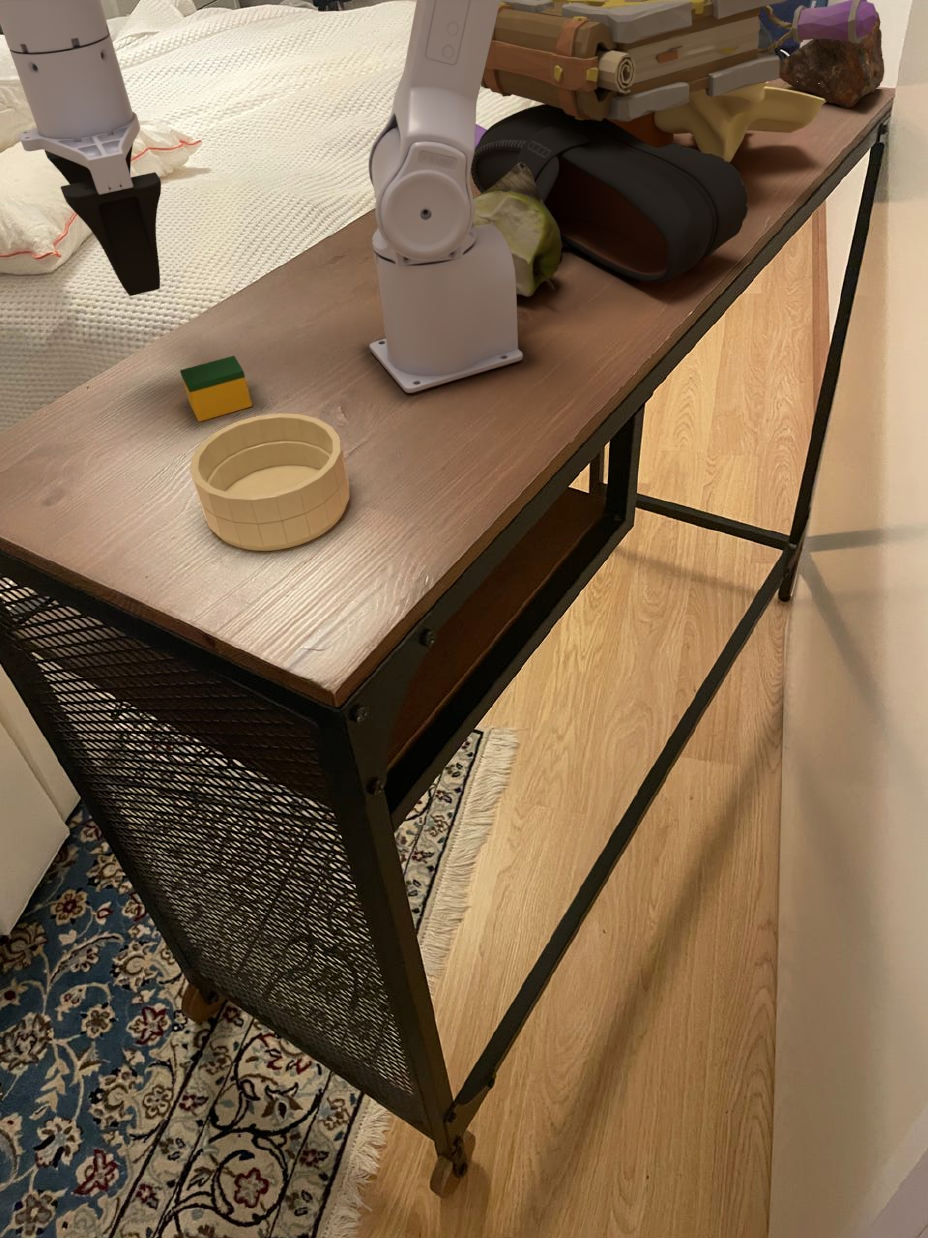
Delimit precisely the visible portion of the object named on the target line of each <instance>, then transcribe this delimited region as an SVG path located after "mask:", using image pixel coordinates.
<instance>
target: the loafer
mask: <svg viewBox="0 0 928 1238" xmlns="http://www.w3.org/2000/svg"><path fill="white" fill-rule="evenodd" d="M521 162H523V163H524V164H525V165H526V166H527V168H528V169H529V170H530V172H531V174H532V176H533V178H534V181H535V184H536V186H537V189H538V192H539V195H540V198H541V200H542V201H543V203H544V204H545V206H546V207H547V209H548V210H549V212H550V213H551V215H552V216H553V218H554V219H555V221H556V223H557V225H558V227H559V230H560V236H561V250H563V248H567V249H576V250H578V251H579V252H581V253H583V254H584V255H586V256H589V258H591V259H593V260H594V261H595V262H598V263H599V264H600V265H603V266H605V267H607V268H608V269H610V270H612V271H614V272H617V273H619V274H621V275H623V276H625V277H629V278H630V279H634V280H636V281H639V282H642V283H648V284H658V283H659V284H660V283H664V282H669V281H671V280H673V279H674V278H676V277H677V276H680V275H682V274H684V273H686V272H687V271H689V270H691V269H692V268H693V267H694V266H695V265H696V264H697V263H700V262H702V261H703V260H705V259H706V258H707V257H709V256H710V255H711V254H713V253H714V252H716V250H718V249H720V247H722V246H723V245H725V244H726V243H727V242H729V241H730V240H731V239H732V238H734V237H736V236H737V235H738V234H739V233H740V232H741V230H742V228H743V222H744V221H745V219H746V217H747V215H748V210H749V207H748V206H747V205H748V203H749V195H748V191H747V187H746V185H745V184H743V181H742V178H741V173H740V171H738V170H737V169H736V167H734V165H733V164H732V163H730V162H727V161H724V159H723V158H721V157H718V156H716V155H713V154H706V153H702V152H701V151H700V149H699V150H698V149H695V148H693V147H690V146H688V147H687V146H684V145H681V144H676V143H673V144H670V145H667V146H664V147H660V148H655V147H653V146H650V145H649V144H647V143H645V142H643V141H642V140H640V139H638V138H637V137H635V136H634V135H632V134H631V133H629V132H627V131H626V130H624V129H623V128H621V127H619V126H618V125H616V124H614V123H613V122H611V121H609V120H608V119H606V118H604V119H603V120H601V121H596V120H591V119H589V120H587V119H584V120H578V119H575V116H571V115H568V114H566V113H565V111H564V110H563V109H561V108H557V107H554V106H551V105H547V104H544V103H543V104H539V105H533V106H530V107H528V108H525V109H522V110H519V111H517V112H515V113H512V114H510V115H508V116H505V117H504V118H502V119H500V120H498V121H497V122H495V123H493V124H492V125H491V126H489V127H488V128H487V131H486V132H485V133H484V134H483V136H482V137H481V139H480V141H479V143H478V144H477V146H476V148H475V152H474V156H473V160H472V165H471V171H470V176H471V179H472V181H473V184H474V185H475V187H476V189H477V190H478V191H479V192H480V194H481V193H483V192H484V191H486V190H488V189H489V188H491V187H492V186H493V185H494V184H495V183H497V182H498V181H499V180H500V179H502V178H503V177H504V176H505V175H506V174H507V173H508V172H509V171H511V170H512V169H513V168H514V167H515V166H516V165H518V164H519V163H521Z"/></svg>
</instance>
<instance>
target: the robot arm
mask: <svg viewBox="0 0 928 1238" xmlns="http://www.w3.org/2000/svg"><path fill="white" fill-rule="evenodd" d="M499 5H500V0H416V1H415V9H414V14H413V19H412V24H411V30H410V34H409V41H408V46H407V51H406V57H405V62H404V68H403V72H402V75H401V78H400V81H399V82H398V85H397V87H396V91H395V93H394V97H393V103H392V108H391V112H390V115H389V118H388V120H387V122H386V124H385V126H384V127H383V128H382V130H381V131H380V132H379V134H378V135H377V136H376V138H375V140H374V142H373V143H372V145H371V149H370V152H369V157H368V174H369V179H370V182H371V185H372V187H373V192H374V199H375V204H374V205H375V207H374V209H375V211H374V212H375V220H376V224H377V228H376V230H375V232H373V235H372V236H371V243H372V248H373V249H372V250H373V256H374V263H375V271H376V278H377V286H378V295H379V300H380V306H381V315H382V323H383V330H384V337H385V338H383V339H380V340H375V341H373V342H371V343H370V344H369V351H370V352H371V353H372V354H373V355H374V357H375V358H376V359H377V360H378V361H379V363H380V364H381V365H382V366H383V368H384V369H385V370H386V371H387V372H388V373H389V374H390V375H391V377H392V378H393V379H394V380H395V381H396V383H397V384H398V385H399V387H400V388H401V389H402V390H403V391H404V392H405V393H407V394H413V393H417V392H421V391H423V390H427V389H430V388H433V387H436V386H440V385H444V384H446V383H451V382H454V381H457V380H460V379H464V378H467V377H470V376H473V375H477V374H481V373H484V372H487V371H490V370H495V369H497V368H501V367H504V366H507V365H510V364H514V363H517V362H520V361H522V360H523V358H524V354H523V352H522V351H521V350H520V349H519V336H518V335H519V334H518V332H519V331H518V305H517V304H518V303H517V301H518V300H517V294H516V275H515V268H514V263H513V258H512V254H511V251H510V248H509V245H508V243H507V241H506V239H505V237H504V236H503V234H502V233H501V231H500V230H499V229H498V228H497V227H496V226H494V225H491V224H486V225H478V226H474V223H473V219H474V211H475V208H474V199H473V198H474V196H473V190H472V187H471V165H472V160H473V156H474V152H475V131H476V124H477V103H478V98H479V94H480V90H481V87H482V86H481V81H482V77H483V73H484V69H485V64H486V60H487V56H488V52H489V47H490V43H491V39H492V35H493V30H494V26H495V22H496V17H497V13H498V9H499ZM0 27H1V30H2V34H3V37H4V40H5V41H6V45H7V47H8V49H9V50H8V51H9V52H10V55H11V58H12V61H13V64H14V66H15V69H16V72H17V75H18V78H19V81H20V84H21V86H22V89H23V91H24V94H25V97H26V101H27V103H28V107H29V109H30V112H31V115H32V117H33V120H34V123H35V125H36V127H35V128H31V129H27V130H22V131H21V132H19V133H18V137H19V139H20V143H21V145H22V148H23V151H24V150H25V151H26V152H35V151H41V150H42V151H43V150H44V153H45V156H46V158H47V159H48V161H49V162H50V163H51V164H52V165H53V166H54V167H55V168H56V169H57V170H58V171H59V173H60V174H61V175H62V176H63V177H64V179H65V181H67V183H68V184H66V185H61V186H60V190H61V193H62V195H63V198H64V200H65V202H66V203H67V205H68V206H69V208H71V210H73V212H74V213H75V214H76V215H77V216H78V217H79V218H80V219H81V220H82V221H83V222H84V223H85V225H86V226H87V227H88V228H89V229H90V231H91V232H92V234H93V235H94V237H95V238H96V240H97V241H98V243H99V245H100V246H101V248H102V250H103V252H104V254H105V256H106V258H107V259H108V261H109V263H110V266H111V268H112V270H113V272H114V274H115V275H116V278H117V280H118V281H119V283H120V284H121V286H122V288H123V289H124V291H125V292H126V293H127V295H128V296H129V297H133V296H138V295H141V294H145V293H150V292H154V291H157V290H160V289H161V273H160V261H159V253H158V241H157V214H158V207H159V201H160V197H161V194H162V181H161V180H162V179H161V178H160V177H159V175H158V173H157V172H155V171H153V172H149V173H145V174H140V175H136V176H131V166H132V164H131V163H132V156H133V155H132V153H133V148H134V147H133V146H134V142H135V141H136V138H137V137H138V135H139V133H140V131H141V125H140V121H139V118H138V115H137V113H136V112H134V111H133V109H132V106H131V105H132V104H131V101H130V99H129V94H128V92H127V91H128V90H127V87H126V85H125V81H124V77H123V73H122V71H121V67H120V63H119V60H118V57H117V53H116V49H115V46H114V43H113V39H112V36H111V32H110V28H109V26H108V21H107V18H106V15H105V12H104V8H103V3H102V0H0Z"/></svg>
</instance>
